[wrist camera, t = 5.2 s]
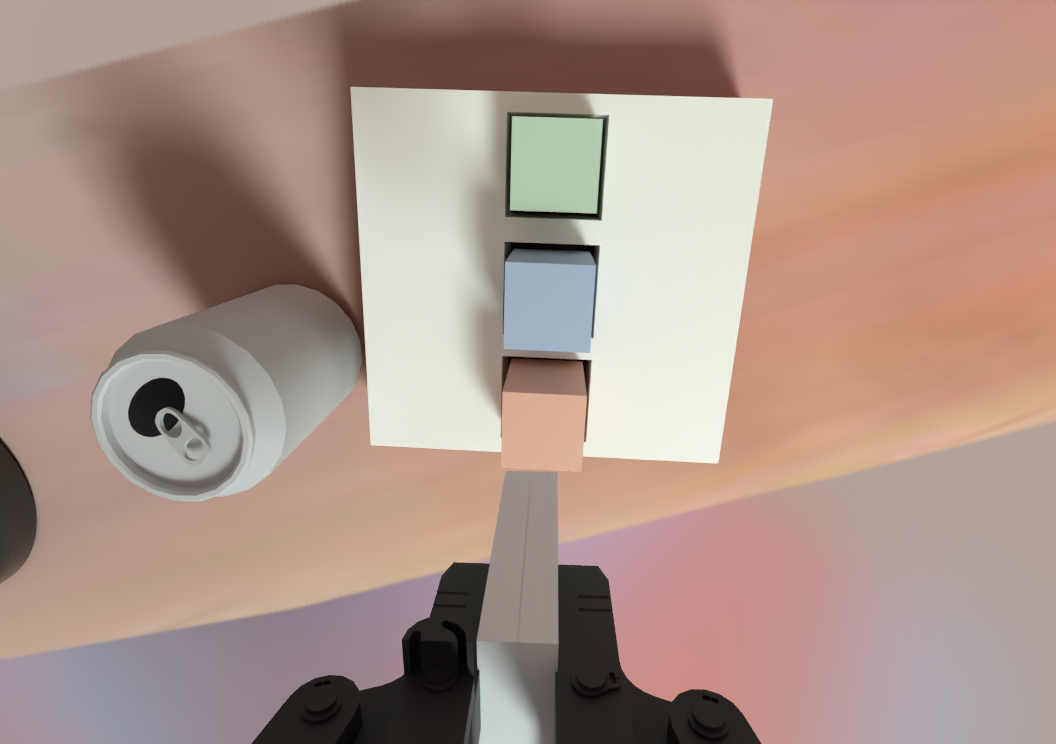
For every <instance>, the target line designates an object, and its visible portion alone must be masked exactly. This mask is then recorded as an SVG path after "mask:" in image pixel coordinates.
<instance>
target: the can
mask: <svg viewBox="0 0 1056 744" xmlns="http://www.w3.org/2000/svg"><path fill="white" fill-rule="evenodd" d="M361 365H362V352H361V344H360V339H359V337H358V334H357V332H356V330H355V328H354V325H353V323H352V321H351V320H350V318H349V317H348V316H347V315H346V314H345V312H344V311H343V310H342V309H341V308H340V307H339V305H338V304H337V303H335V302H334V301H332V300H331V299H329V298H328V297H326V296H325V295H323V294H322V293H320V292H319V291H316V290H313V289H310V288H307V287H303V286H300V285H297V284H296V285H273V286H270V287H268V288H265V289H262V290H259V291H256V292H253V293H251V294H248V295H245V296H242V297H239V298H236V299H233V300H231V301H228V302H225V303H222V304H219V305H216V306H213V307H211V308H208V309H205V310H202V311H199V312H196V313H193V314H191V315H188V316H185V317H182V318H179V319H176V320H173V321H171V322H168V323H165V324H162V325H159V326H156V327H154V328H151V329H148V330H145V331H143V332H140V333H137V334H135V335H134V336H132V337H131V338H130V339H129V340H128V341H127V342H126V343H125V344H123V345H122V346H121V347H120V348H119V349H118V350H117V351H116V352H115V354H114V356H113V358H112V360H111V362H110V364H109V366H108V368H107V369H106V370H105V371H104V372H103V373H102V374H101V376H100V378H99V380H98V382H97V384H96V386H95V388H94V391H93V393H92V400H91V416H90V417H91V421H92V424H93V428H94V432H95V435H96V439H97V442H98V443H99V445H100V446H101V448H102V450H103V451H104V453H105V455H106V456H107V458H108V459H109V461H110V463H111V464H112V465H113V466H114V467H116V468H117V469H118V470H119V471H120V472H121V473H122V474H123V475H124V476H125V477H126V478H127V479H128V480H129V481H131V482H132V483H134V484H136V485H137V486H139V487H141V488H143V489H144V490H146V491H148V492H149V493H151V494H154V495H157V496H161V497H164V498H168V499H171V500H175V501H202V500H205V499H209V498H212V497H215V496H228V495H231V494H235V493H238V492H241V491H244V490H248V489H250V488H252V487H253V486H254V485H256V484H257V483H258V482H260V481H261V480H262V479H264V478H265V477H266V476H268V475H269V474H270V473H271V472H272V471H273V470H274V469H275V468H276V467H277V466H278V465H279V464H280V463H281V462H282V461H283V460H284V459H285V458H286V457H287V456H288V455H289V454H290V453H291V452H292V451H293V450H294V449H295V448H296V447H297V446H298V445H299V444H300V443H301V442H302V441H303V440H304V439H305V438H306V437H307V436H308V435H309V434H310V433H311V432H312V431H313V430H314V429H315V428H316V427H317V426H318V425H319V424H320V423H321V422H322V421H323V420H324V419H325V418H326V417H327V416H328V415H329V414H330V413H331V412H332V411H333V410H334V409H335V408H336V407H337V406H338V405H339V404H340V403H341V402H342V401H343V400H344V399H345V398H346V397H347V396H348V395H349V393H350V392H351V390H352V389H353V387H354V386H355V384H356V382H357V381H358V379H359V374H360V369H361Z"/></svg>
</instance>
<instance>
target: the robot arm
mask: <svg viewBox="0 0 1056 744" xmlns="http://www.w3.org/2000/svg"><path fill="white" fill-rule="evenodd" d="M35 535H36V513H35V506H34V502H33V498H32V495H31V492H30V489H29V487H28V484H27V482H26V480H25V478H24V476H23V474H22V472H21V470H20V468H19V467H18V465H17V464H16V462H15V461H14V459H13V458H12V456H11V455H10V454H9V452H8V451H7V450H6V449H5V447H4V446H3V445H2V444H1V443H0V584H1V583H2V582H4V581H5V580H6V579H8V578H9V577H11V576H12V575H13V574H14V573H16V572H17V571H18V570H19V569H20V568H21V567H22V565H23V564H24V563H25V561H26V560H27V558H28V556H29V554H30V552H31V550H32V547H33V544H34V540H35ZM610 597H611V596H610V589H609V582H608V579H607V578H606V576H605V575H604V574H603V572H602V571H601V570H600V568H599V567H598V566H581V565H558V505H557V472H525V471H506V473H505V479H504V484H503V490H502V496H501V502H500V508H499V513H498V519H497V525H496V531H495V537H494V542H493V548H492V554H491V560H490V564H483V563H455V562H454V563H453V564H452V565H451V566H450V567H449V568H448V570H447V571H446V572H445V573H444V574H443V575H442V577H441V580H440V584H439V587H438V590H437V595H436V598H435V601H434V604H433V608H432V611H431V614H430V617H429V618H426V619H424V620H421V621H419V622H417V623H416V624H415V625H413V626H412V627H411V628H409V629H408V630H407V632H406V634H405V635H404V637H403V639H402V648H403V662H404V675H403V676H402V677H400V678H398V679H396V680H394V681H393V682H391V683H388V684H385V685H382V686H378V687H374V688H369V689H365V690H361V691H359V689H358V688H357V686H356V685H355V684H354V682H353V681H351V680H349V679H347V678H345V677H343V676H334V675H328V676H324V677H319V678H315V679H313V680H311V681H310V682H307V683H306V684H304V685H302V686H301V687H299V688H298V689H297V690H296V691H295V692H294V693H293V694H292V695H291V696H290V697H289V698H288V699H287V701H286V702H285V703H284V704H283V705H282V707H281V708H280V709H279V710H278V712H277V713H276V714H275V715H274V717H273V718H272V719H271V721H269V723H268V724H267V725H266V726H265V728H264V729H263V730H262V732H261V733H260V734H259V735H258V736H257V738H256V739H255V740H254V741H253V742H252V744H761V743H760V741H759V739H758V738H757V736H756V734H755V733H754V731H753V730H752V728H751V726H750V725H749V723H748V722H747V720H746V719H745V717H744V715H743V714H742V713H741V712H740V711H739V709H738V708H737V707H736V706H735V705H734V704H733V703H732V702H731V701H729V700H728V699H726V698H724V697H723V696H721V695H720V694H717V693H714V692H711V691H708V690H693V689H691V690H688V691H686V692H683V693H680V694H679V695H678V696H677V697H676V698H675V699H674V701H672V702H670V701H667V700H664V699H661V698H658V697H655V696H652V695H650V694H648V693H645V692H643V691H642V690H640V689H639V688H637V687H636V686H634V685H633V684H632V683H631V682H630V681H629V680H628V679H627V677H626V676H625V674H624V672H623V671H622V669H621V666H620V662H619V655H618V648H617V640H616V633H615V626H614V618H613V613H612V604H611V598H610Z"/></svg>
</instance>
